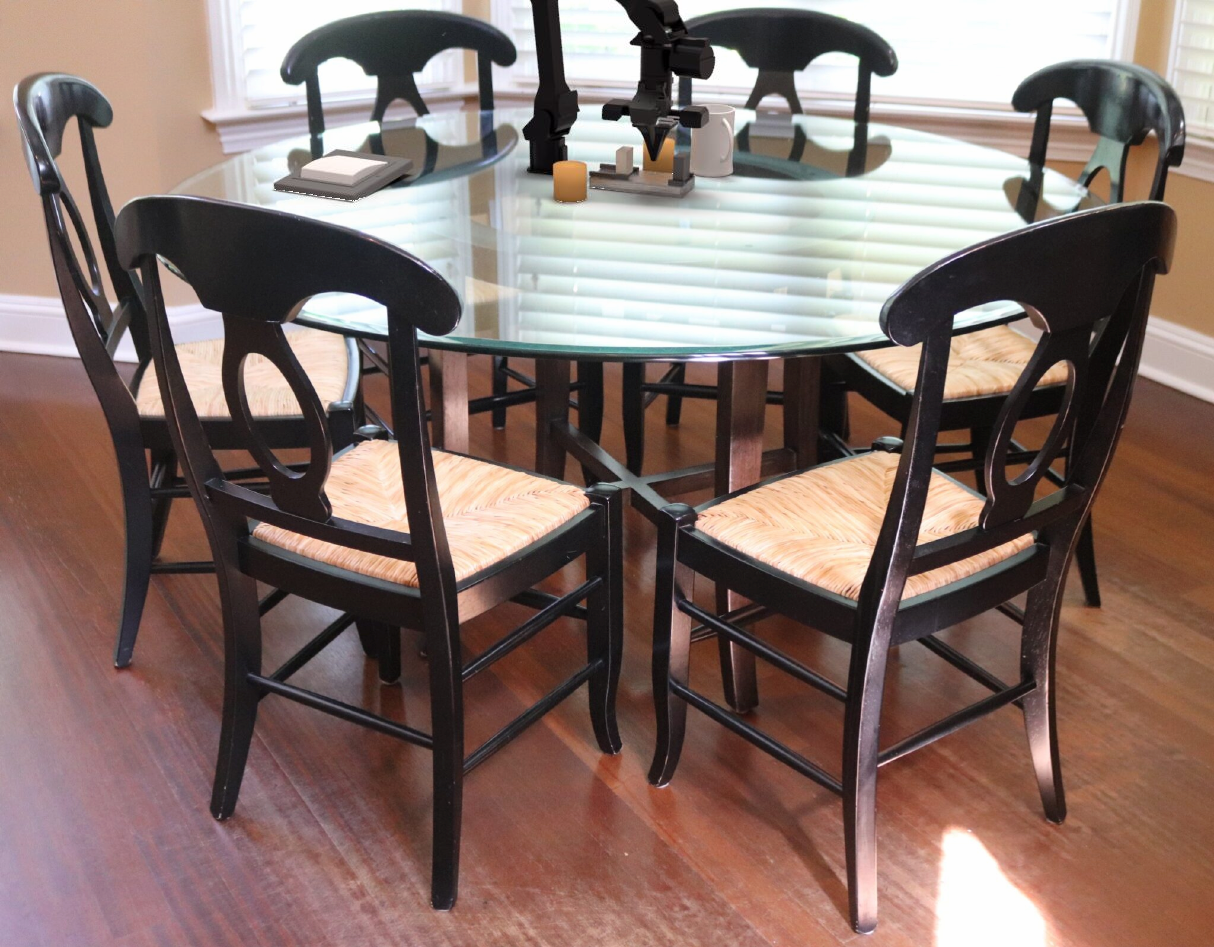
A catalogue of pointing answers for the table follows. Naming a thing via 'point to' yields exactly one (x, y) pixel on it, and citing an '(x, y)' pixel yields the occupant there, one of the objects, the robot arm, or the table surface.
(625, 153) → the beige cardboard box
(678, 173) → the toggle black
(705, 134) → the mug
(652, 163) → the orange short rounded piece
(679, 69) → the robot arm
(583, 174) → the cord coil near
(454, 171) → the table surface
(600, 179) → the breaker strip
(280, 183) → the light switch
